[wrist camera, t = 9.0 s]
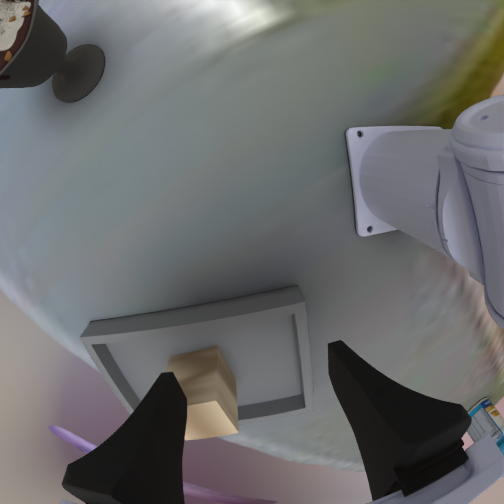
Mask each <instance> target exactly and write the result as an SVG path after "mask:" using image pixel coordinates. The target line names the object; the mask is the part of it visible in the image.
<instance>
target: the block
mask: <svg viewBox="0 0 504 504" xmlns="http://www.w3.org/2000/svg"><path fill="white" fill-rule="evenodd" d="M166 372H173V373H174V375H175V377H176V379H177V381H178V382H179V384H180V386H181V388H182V390H183V392H184V394H185V396H186V397H187V423H186V431H185V440H194V439H202V438H210V437H217V436H224V435H230V434H235V433H239V425H238V408H237V389H236V379H235V377H234V375H233V373H232V372H231V370H230V368H229V366H228V364H227V362H226V360H225V358H224V356H223V354H222V352H221V350H220V348H219V346H218V345H217V346H213V347H209V348H205V349H201V350H197V351H192V352H188V353H184V354H179V355H175V356H170V357H169V360H168V364H167V368H166Z"/></svg>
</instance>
